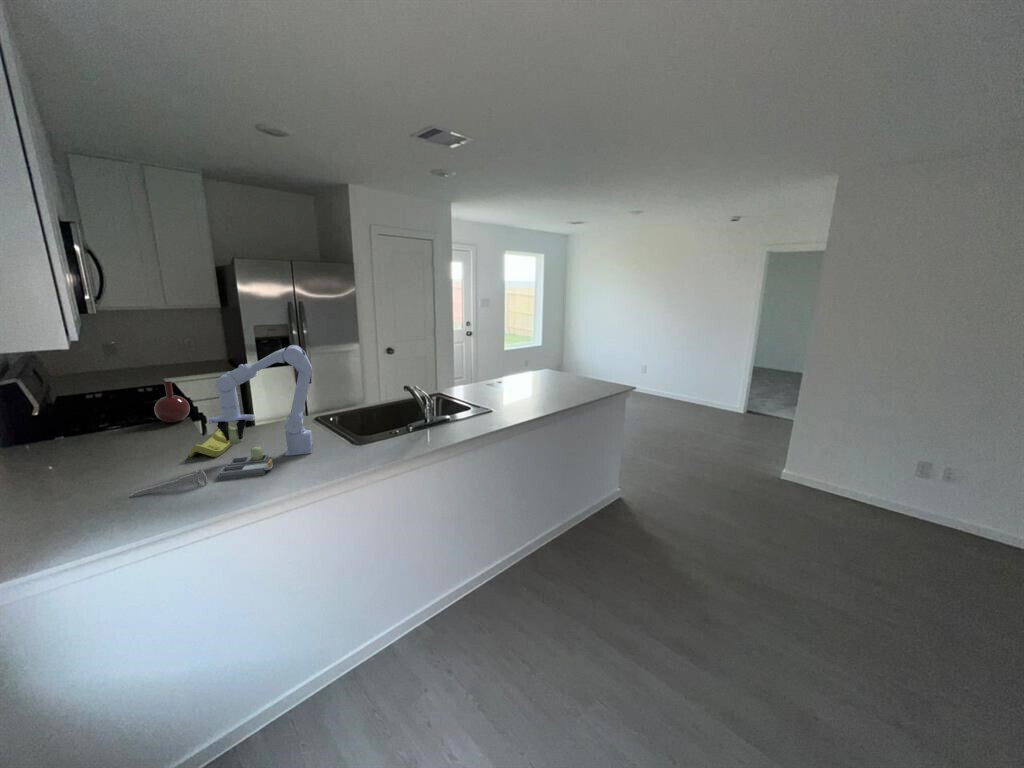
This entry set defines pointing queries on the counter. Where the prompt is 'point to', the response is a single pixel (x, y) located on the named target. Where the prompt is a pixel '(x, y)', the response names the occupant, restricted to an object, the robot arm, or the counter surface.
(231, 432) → the peg
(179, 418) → the round-bottom flask
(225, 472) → the housing
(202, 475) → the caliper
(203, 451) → the plastic component
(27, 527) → the counter surface
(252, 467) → the lid
